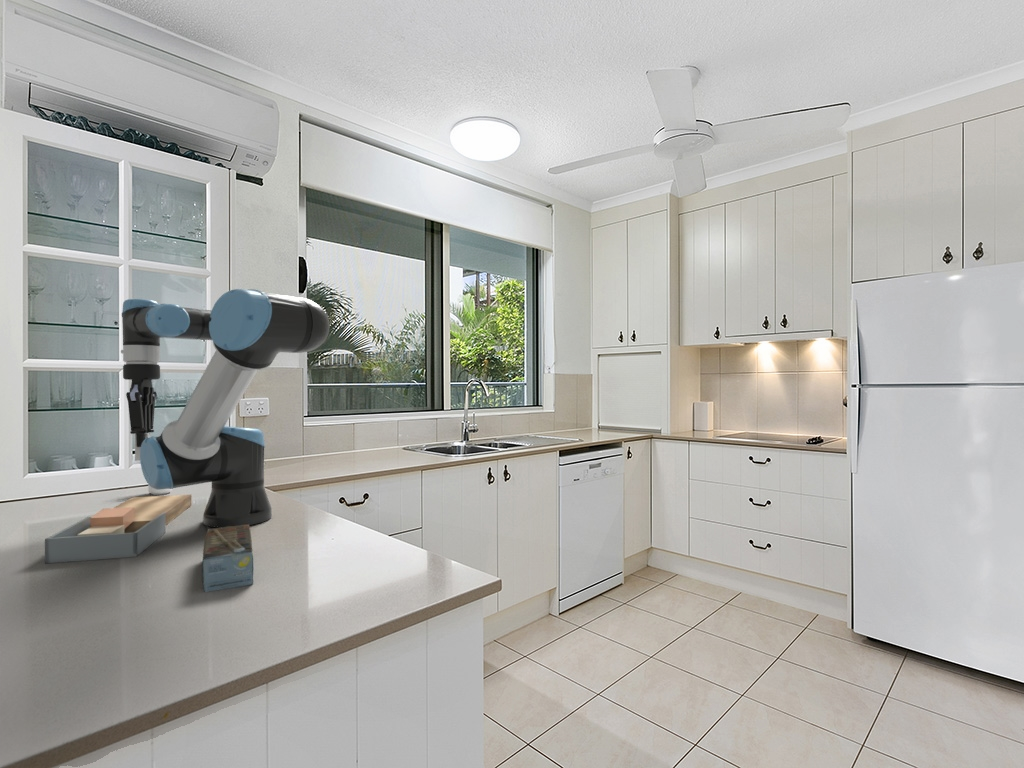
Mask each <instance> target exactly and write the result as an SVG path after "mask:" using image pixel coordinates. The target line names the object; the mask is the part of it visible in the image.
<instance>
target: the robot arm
mask: <svg viewBox="0 0 1024 768" xmlns="http://www.w3.org/2000/svg"><path fill="white" fill-rule="evenodd" d="M121 311H122V312H121V319H122V320H121V321H122V323H121V324H122V325H121V326H122V349H121V350H120V354H122V358H123V359H122V361H123V362H124V363H125V364H123V366H122V378H123V379H124V380H131V385H130V388H129V392H128V391H127V392H126V393H125V395H126V399H127V404H128V416H129V424H130V434H131V435H134V461H137V462H138V461H140V467H141V471H142V475H143V477H144V479H145V482H146V483H147V485H148V484H149V485H150V486H151V487H152V488H154V489H158V490H160V489H172V490H173V489H176V488H182V487H188V486H194V485H200V484H206V483H211V491H210V494H209V497H208V500H207V504H206V506H205V508H204V511H203V516H202V517H203V518H202V519H203V520H202V521H203V525H204V526H205V527H210V528H222V527H227V526H238V525H243V524H249V526H252V525H257V524H260V523H263V522H266V521H268V520H270V519H271V518H272V515H273V513H272V512H273V511H272V509H273V508H272V505H271V503H270V500H269V497H268V494H267V491H266V488H265V448H266V445H265V438H264V436H265V435H264V432H263V431H262V430H261V429H259V428H255V427H254V428H251V427H241V426H240V427H238V426H237V427H236V426H226V424H227V422H229V419H230V418H231V416H232V414H233V412H234V411H235V409H236V407H237V406H238V404H239V402H240V401H241V399H242V397H243V396H244V395H245V393H246V391H247V389H248V387H249V386H250V384H251V382H252V381H253V379H254V378H255V376H256V375H257V372H258V371H261V370H265V369H267V368H269V367H270V366H271V365H272V363H273V362H274V360H275V358H276V357H277V355H278V354H280V353H289V354H291V353H292V354H293V353H294V354H295V353H297V354H302V353H308V352H311V351H315V350H316V349H318V348H320V347H321V345H323V344H324V343H325V342H326V340H327V338H328V336H329V333H330V320H329V317H328V315H327V313H326V312H325V310H324V308H322V307H321V305H319V304H317V302H314V301H313V300H311V299H309V298H305V297H301V296H300V297H299V296H292V295H287V294H277V293H272V292H271V293H270V292H265V291H264V292H263V291H261V290H259V289H255V288H254V289H253V288H250V289H242V288H241V289H240V288H236V289H235V288H233V289H230V290H228V291H226V292H225V293H223V294H221V296H220V297H219V298H218V299H217V300H216V302H215V303H214V305H213V307H212V309H210V310H209V309H198V308H192V307H184V306H183V307H182V306H180V305H177V304H174V303H160V304H159V303H158V302H157V301H156V300H152V299H142V298H134V299H133V298H132V299H131V298H129V299H126V300H124V301H123V303H122V310H121ZM161 338H169V339H170V338H171V339H185V340H203V341H204V340H205V341H212V344H213V347H214V349H215V350H214V351H215V352H214V353H213V355H212V357H211V359H210V360H209V362H208V365H206V366H207V367H206V368H205V370H204V372H203V373H202V375H201V377H200V379H199V380H198V382H197V384H196V386H195V388H194V390H193V392H192V393H191V395H190V396H189V399H188V401H187V403H186V404H185V406H184V407H183V410H182V411H181V414H179V417H178V419H175V420H173V421H171V422H169V423H168V424H167V425H166V426H165V427H164V429H163V430H162V432H161V433H160V435H159V436H151V433H155V429H154V419H155V407H156V406H155V405H156V398H157V391H155V389H154V387H153V382H152V381H153V380H160V378H161V366H160V364H158V363H160V362H161V346H160V345H161V344H160V341H161Z"/></svg>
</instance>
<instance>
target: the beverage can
mask: <svg viewBox="0 0 1024 768" xmlns="http://www.w3.org/2000/svg"><path fill="white" fill-rule="evenodd" d="M147 485H148V488H147V491H148V493H149V494H151V495H153V496H162V495H165V494H166V495H167V494H169V493H170V492H172V491H173V489H160V490H158V489H154V488H152V487H151V486H150V485H149V484H148V483H147Z"/></svg>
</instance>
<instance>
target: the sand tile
mask: <svg viewBox="0 0 1024 768" xmlns="http://www.w3.org/2000/svg"><path fill="white" fill-rule="evenodd" d="M120 533H124V525H112V526H95V527H90V528H88V529H87V530H85V531H83V532H81V533H79V534H78V535H77V536H89V535H104V534H120Z"/></svg>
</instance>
